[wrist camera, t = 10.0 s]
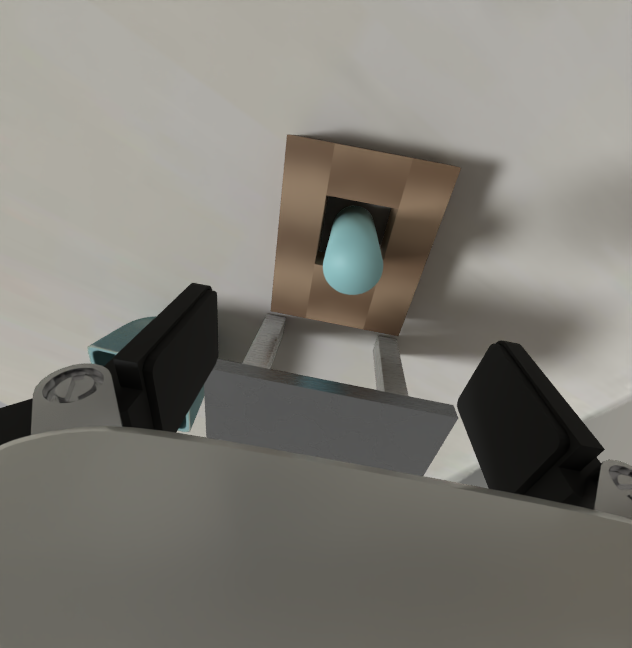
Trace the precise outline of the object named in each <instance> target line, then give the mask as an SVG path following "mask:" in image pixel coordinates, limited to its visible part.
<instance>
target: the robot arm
mask: <svg viewBox="0 0 632 648" xmlns="http://www.w3.org/2000/svg"><path fill="white" fill-rule="evenodd" d="M217 359H218V318H217V293H216V291H212V288H211V287H210V286H207V285H202V284H197V283H192V284H190V285H189V286H188V287H187V288H186V289H185V290H184V291H183V292H182V293H181V294H180V295H179V296H178V297H177V298H176V299H175V300H174V301H172V302H171V303H170V304H169V305H168V306H167V307H166V308H165V309H164V310H163V311H162V312H161V313H160V314H159V315H158V316H157V317H156V318H154V319H153V320H152V321H151V322H150V323H149V324H148V325H147V326H146V327H145V328H143V329H142V330H141V331H140V332H139V333H138V334H137V335H136V336H135V337H134V338H133V339H132V340H131V341H130V342H129V343H128V344H127V345H126V346H125V347H124V348H122V349H121V350H120V351H119V352H118V353H117V354H116V355H115V356H114V357H113V358H112V359H111V360H110V361H109V362H108V363H107V364H106V365H105V366H104V367H103V366H101V365H97V364H77V365H72V366H68V367H65V368H62V369H59V370H57V371H55V372H53V373H51V374H49V375H48V376H47V377H45V378H44V379H43V380H41V381H40V383H39V384H38V385H37V386H36V387H35V390H34V393H33V399H29V400H26V401H23V402H19V403H16V404H13V405H9V406H6V407H3V408H0V648H632V466H631V465H629V464H626V463H623V462H621V461H617V460H606V461H604V462H602V463H600V461H599V460H598V459H597V456H598V455H599V454H600V453H601V452H602V451H604V450H605V449H604V448H603V447H602V445H601V444H600V443H599V442H598V440H597V439H596V438H595V437H594V435H593V434H592V433H591V432H590V431H589V429H588V428H587V427H586V425H585V424H584V423H583V422H582V420H581V419H580V418H579V417H578V415H577V414H576V413H575V412H574V411H573V409H572V408H571V407H570V406H569V404H568V403H567V402H566V401H565V399H564V398H563V397H562V396H561V394H560V393H559V392H558V391H557V389H556V388H555V387H554V386H553V384H552V383H551V382H550V381H549V379H548V378H547V377H546V376H545V374H544V373H543V372H542V371H541V369H540V368H539V367H538V366H537V364H536V363H535V362H534V361H533V360H532V358H531V357H530V356H529V355H528V353H527V352H526V351H525V350H524V348H523V347H522V346H521V345H520V344H517V343H512V342H507V341H498V342H497V343H496V344H492V345H491V346H490V347H489V348H488V350H487V352H486V353H485V355H484V357H483V358H482V360H481V362H480V363H479V365H478V367H477V369H476V370H475V372H474V374H473V375H472V377H471V379H470V380H469V382H468V384H467V385H466V387H465V389H464V390H463V392H462V394H461V395H460V397H459V399H458V402H457V408H458V411H459V413H460V416H461V419H462V421H463V424H464V426H465V429H466V431H467V434H468V436H469V439H470V442H471V444H472V447H473V449H474V452H475V454H476V457H477V459H478V462H479V465H480V467H481V470H482V472H483V475H484V477H485V480H486V483H487V485H488V488H489V489H487V488H482V487H477V486H472V485H467V484H461V483H456V482H451V481H446V480H440V479H435V478H430V477H424V476H419V475H413V474H408V473H402V472H397V471H392V470H386V469H381V468H375V467H370V466H364V465H359V464H353V463H348V462H342V461H337V460H331V459H326V458H320V457H315V456H309V455H304V454H298V453H292V452H287V451H281V450H275V449H270V448H264V447H259V446H253V445H247V444H242V443H236V442H231V441H225V440H218V439H212V438H206V437H200V436H194V435H187V434H181V433H176V432H177V430H178V429H179V427H180V425H181V423H182V422H183V420H184V418H185V417H186V415H187V413H188V411H189V410H190V408H191V406H192V404H193V403H194V401H195V399H196V397H197V396H198V394H199V392H200V391H201V389H202V387H203V385H204V384H205V382H206V380H207V378H208V377H209V375H210V373H211V371H212V370H213V368H214V366H215V365H216V362H217Z"/></svg>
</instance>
